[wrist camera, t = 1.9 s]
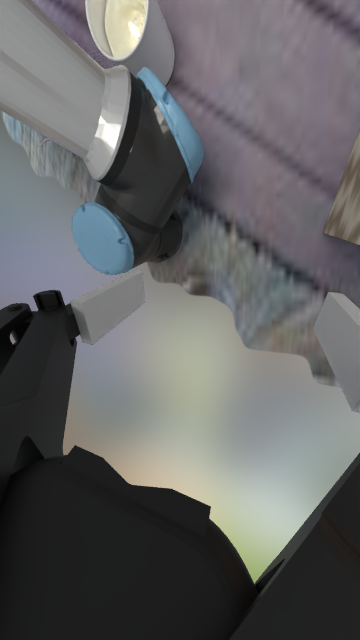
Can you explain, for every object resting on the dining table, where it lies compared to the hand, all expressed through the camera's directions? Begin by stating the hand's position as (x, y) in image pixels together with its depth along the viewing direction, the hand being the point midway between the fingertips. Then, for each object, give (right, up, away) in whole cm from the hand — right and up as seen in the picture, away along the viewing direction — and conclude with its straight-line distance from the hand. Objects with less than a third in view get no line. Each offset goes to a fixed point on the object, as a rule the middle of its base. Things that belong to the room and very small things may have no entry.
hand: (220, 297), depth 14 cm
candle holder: (-8, +47, +21) cm, 52 cm away
